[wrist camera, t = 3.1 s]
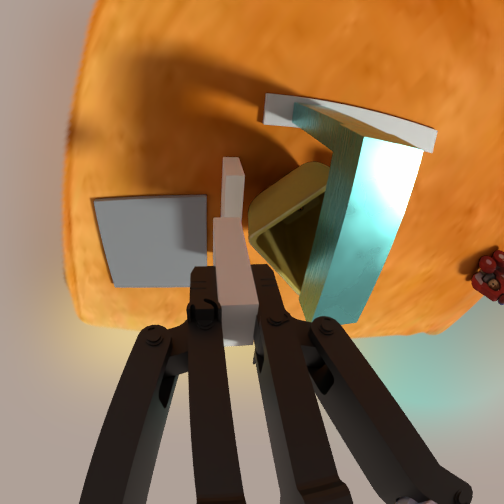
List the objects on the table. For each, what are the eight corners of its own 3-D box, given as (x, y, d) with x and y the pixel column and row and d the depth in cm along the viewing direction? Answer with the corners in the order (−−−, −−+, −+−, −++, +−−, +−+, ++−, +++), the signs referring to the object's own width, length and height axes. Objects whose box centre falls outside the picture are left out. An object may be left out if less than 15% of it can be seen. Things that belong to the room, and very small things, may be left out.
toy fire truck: (472, 260, 42) (502, 295, 34) (503, 246, 42) (531, 276, 34) (462, 284, 46) (488, 319, 38) (494, 269, 46) (519, 299, 38)
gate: (288, 101, 22) (363, 136, 12) (329, 107, 23) (423, 150, 12) (272, 227, 30) (309, 328, 19) (307, 228, 31) (356, 322, 20)
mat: (95, 199, 26) (93, 201, 25) (206, 194, 28) (206, 197, 27) (115, 284, 33) (114, 287, 32) (207, 283, 35) (207, 286, 34)
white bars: (226, 90, 22) (231, 94, 18) (435, 129, 26) (462, 143, 22) (219, 254, 32) (222, 283, 28) (395, 250, 36) (413, 273, 32)
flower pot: (306, 140, 26) (346, 172, 19) (343, 202, 30) (381, 248, 23) (234, 190, 28) (245, 240, 21) (280, 243, 33) (301, 299, 26)
